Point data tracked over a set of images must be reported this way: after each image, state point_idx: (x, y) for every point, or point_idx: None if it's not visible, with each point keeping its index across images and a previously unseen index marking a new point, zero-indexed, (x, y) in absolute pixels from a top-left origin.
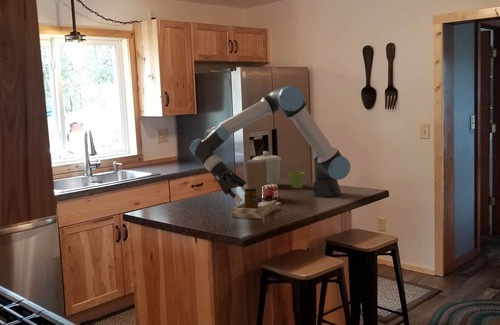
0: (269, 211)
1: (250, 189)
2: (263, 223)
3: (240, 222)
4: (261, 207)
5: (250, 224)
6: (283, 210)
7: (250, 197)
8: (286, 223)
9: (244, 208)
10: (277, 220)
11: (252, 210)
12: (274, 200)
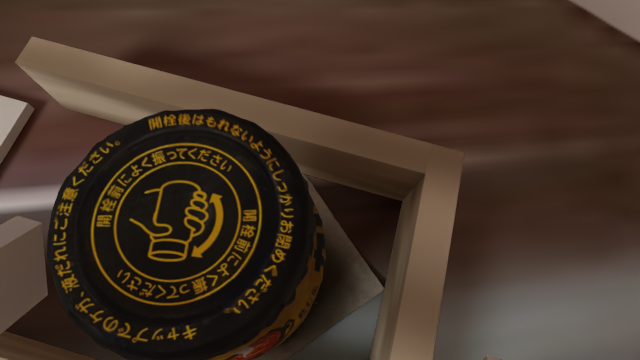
0: None
1: (301, 205)
2: (588, 149)
3: (586, 346)
4: (368, 148)
5: (636, 244)
6: (170, 36)
7: (324, 245)
8: (564, 13)
9: (410, 335)
10: (490, 64)
11: (448, 235)
12: (39, 50)
